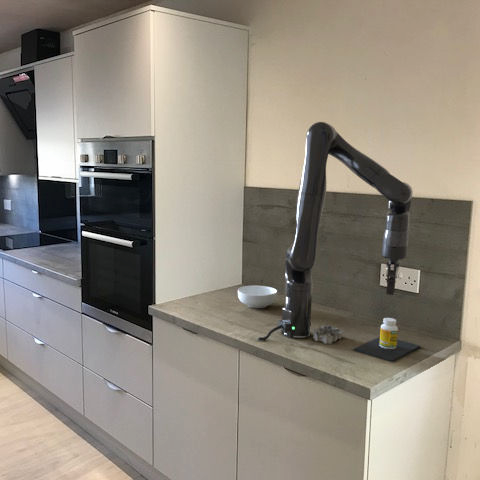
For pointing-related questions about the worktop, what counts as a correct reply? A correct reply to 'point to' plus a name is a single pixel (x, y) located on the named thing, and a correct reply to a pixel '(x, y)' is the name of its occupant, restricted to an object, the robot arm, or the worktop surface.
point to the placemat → (387, 354)
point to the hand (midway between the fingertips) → (390, 291)
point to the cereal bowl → (257, 296)
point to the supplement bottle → (388, 334)
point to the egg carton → (327, 334)
